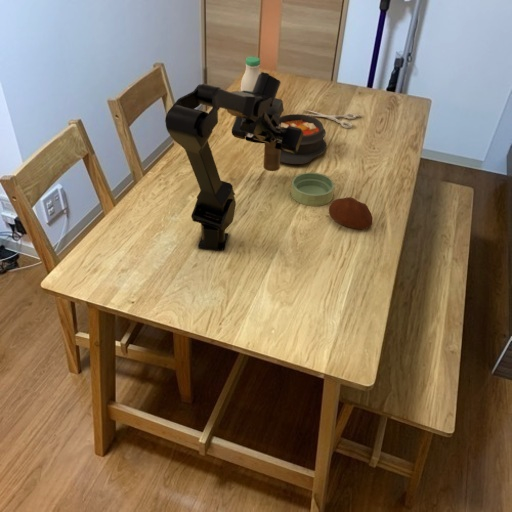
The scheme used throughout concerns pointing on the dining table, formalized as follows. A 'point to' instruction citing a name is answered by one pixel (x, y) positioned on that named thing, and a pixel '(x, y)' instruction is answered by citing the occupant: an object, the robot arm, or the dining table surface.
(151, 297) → the dining table surface
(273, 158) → the pepper mill
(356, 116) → the scissors
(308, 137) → the casserole
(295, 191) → the green round dish
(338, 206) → the potato
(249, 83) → the milk bottle
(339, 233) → the dining table surface
